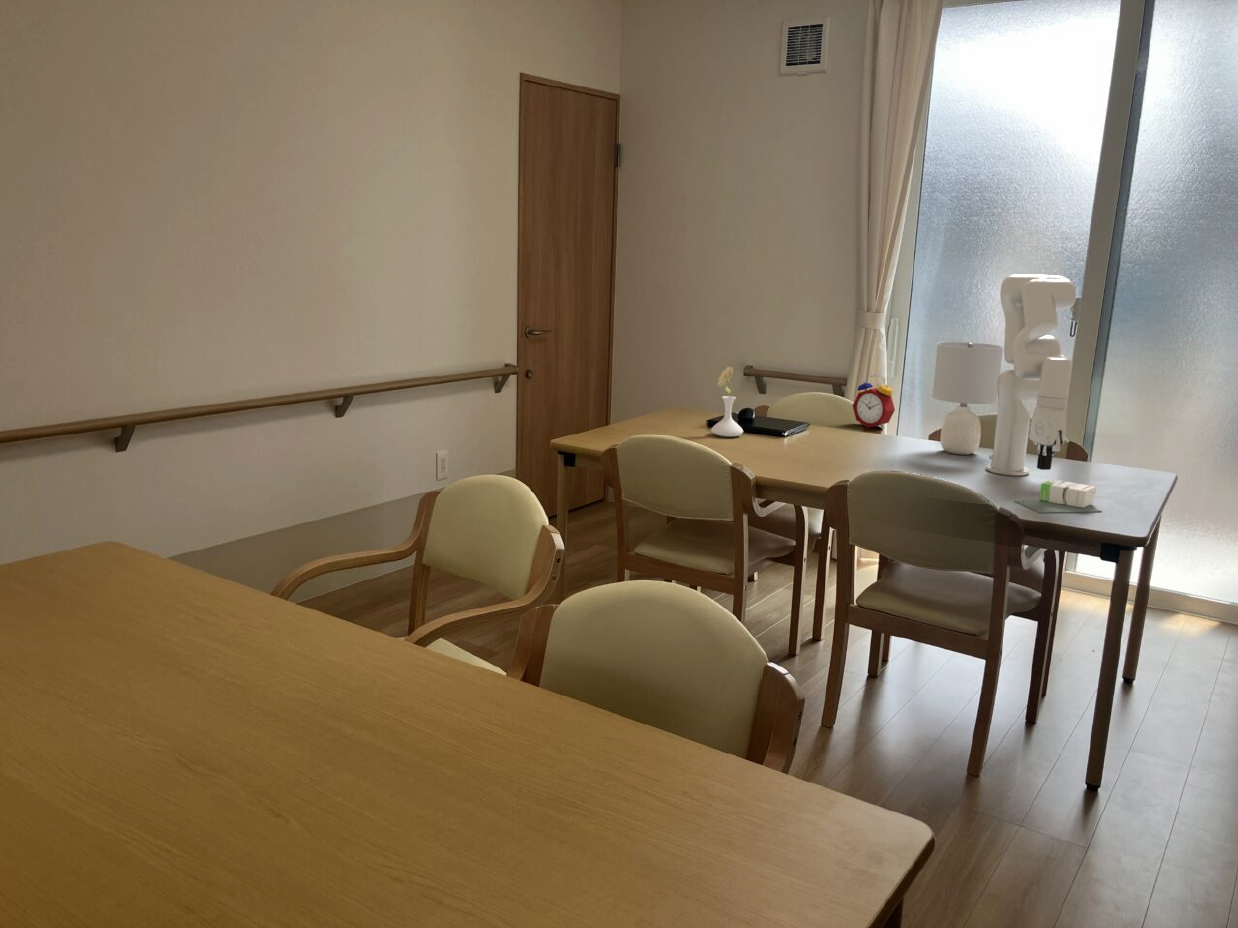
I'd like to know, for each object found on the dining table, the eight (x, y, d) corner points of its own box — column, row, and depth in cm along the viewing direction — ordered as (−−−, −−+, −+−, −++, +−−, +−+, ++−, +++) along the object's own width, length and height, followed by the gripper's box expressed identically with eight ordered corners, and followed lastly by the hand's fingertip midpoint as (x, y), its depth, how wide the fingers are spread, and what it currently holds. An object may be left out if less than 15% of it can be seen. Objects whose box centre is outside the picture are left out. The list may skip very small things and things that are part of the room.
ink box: (1038, 500, 272) (1083, 509, 264) (1040, 483, 270) (1085, 491, 263) (1050, 495, 278) (1094, 503, 270) (1052, 478, 277) (1096, 486, 269)
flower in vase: (711, 431, 359) (715, 362, 353) (743, 433, 357) (747, 364, 352) (709, 438, 346) (713, 367, 340) (742, 440, 344) (746, 368, 339)
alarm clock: (850, 424, 381) (854, 373, 377) (863, 422, 387) (867, 371, 383) (884, 430, 371) (888, 377, 366) (896, 428, 377) (901, 376, 372)
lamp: (1003, 457, 329) (1016, 346, 321) (953, 460, 322) (965, 346, 314) (963, 445, 347) (974, 340, 339) (914, 448, 340) (925, 340, 332)
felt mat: (1014, 501, 271) (1014, 500, 271) (1073, 500, 274) (1073, 499, 274) (1039, 513, 259) (1039, 512, 259) (1101, 512, 263) (1101, 510, 263)
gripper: (1023, 398, 275) (1015, 463, 279) (1055, 407, 261) (1047, 475, 265) (1048, 398, 276) (1040, 462, 280) (1081, 407, 262) (1072, 475, 266)
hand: (1043, 468), depth 273 cm, fingers closed
